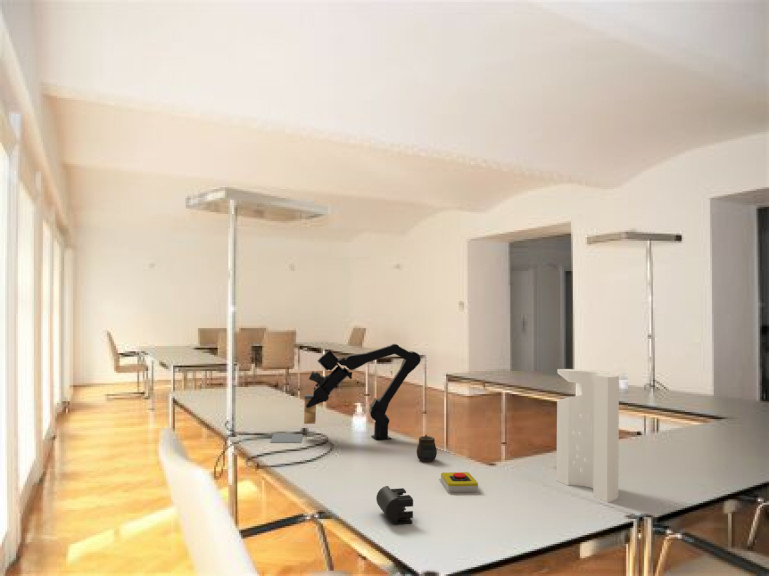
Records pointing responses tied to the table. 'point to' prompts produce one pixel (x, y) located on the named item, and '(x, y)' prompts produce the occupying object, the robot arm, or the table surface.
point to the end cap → (395, 505)
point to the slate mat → (286, 438)
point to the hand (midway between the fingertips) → (306, 406)
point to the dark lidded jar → (426, 449)
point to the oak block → (309, 411)
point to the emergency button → (459, 483)
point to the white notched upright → (589, 433)
